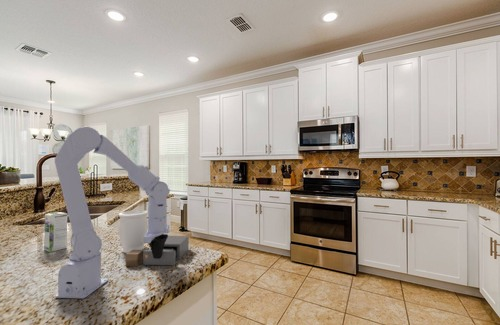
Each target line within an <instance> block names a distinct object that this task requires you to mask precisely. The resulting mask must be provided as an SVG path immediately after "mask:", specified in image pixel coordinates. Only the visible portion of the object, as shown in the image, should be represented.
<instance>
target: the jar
mask: <svg viewBox="0 0 500 325" xmlns="http://www.w3.org/2000/svg"><path fill="white" fill-rule="evenodd" d="M147 215H148V210H142V209H137V210H136V209H132V210H127V211H122V212H119V213H118V217H119V218H120V219H119V222H118V235H119V236H118V237H119V241H120V244H121V246H122V248H121V253H125V254H127V253H128V252H130V251H131V250H143V251H144V250H145V248H146V245H144V244H145V243H143V237H144V236H145V235H146V233H147V231H148V216H147Z"/></svg>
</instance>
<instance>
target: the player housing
mask: <svg viewBox="0 0 500 325" xmlns="http://www.w3.org/2000/svg"><path fill="white" fill-rule="evenodd" d="M189 238H190V237H189V235H168V238H167V239H166V242H165V244H164V247H172V248H173V249H177V256H176V257H175V261H178V260H179V261H180V260H181V259H182V258H183V256H185V255H186V254H187V252H188V251H189V246H190V245H189V242H190V241H189V240H190V239H189Z"/></svg>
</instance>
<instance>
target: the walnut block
mask: <svg viewBox="0 0 500 325" xmlns="http://www.w3.org/2000/svg"><path fill="white" fill-rule="evenodd" d="M142 263H144V249H143V250H131V251H130V252H128V253H125V267H138V266H139V265H141V264H142Z"/></svg>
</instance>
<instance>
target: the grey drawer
mask: <svg viewBox="0 0 500 325" xmlns="http://www.w3.org/2000/svg"><path fill="white" fill-rule="evenodd" d="M176 256H177V249H173V250H163V252H162V256H161V258H160V259H154V258H153V254H152V251H151V249H143V265H145V266H147V265H149V266H175V265H176V260H175V257H176Z"/></svg>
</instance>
